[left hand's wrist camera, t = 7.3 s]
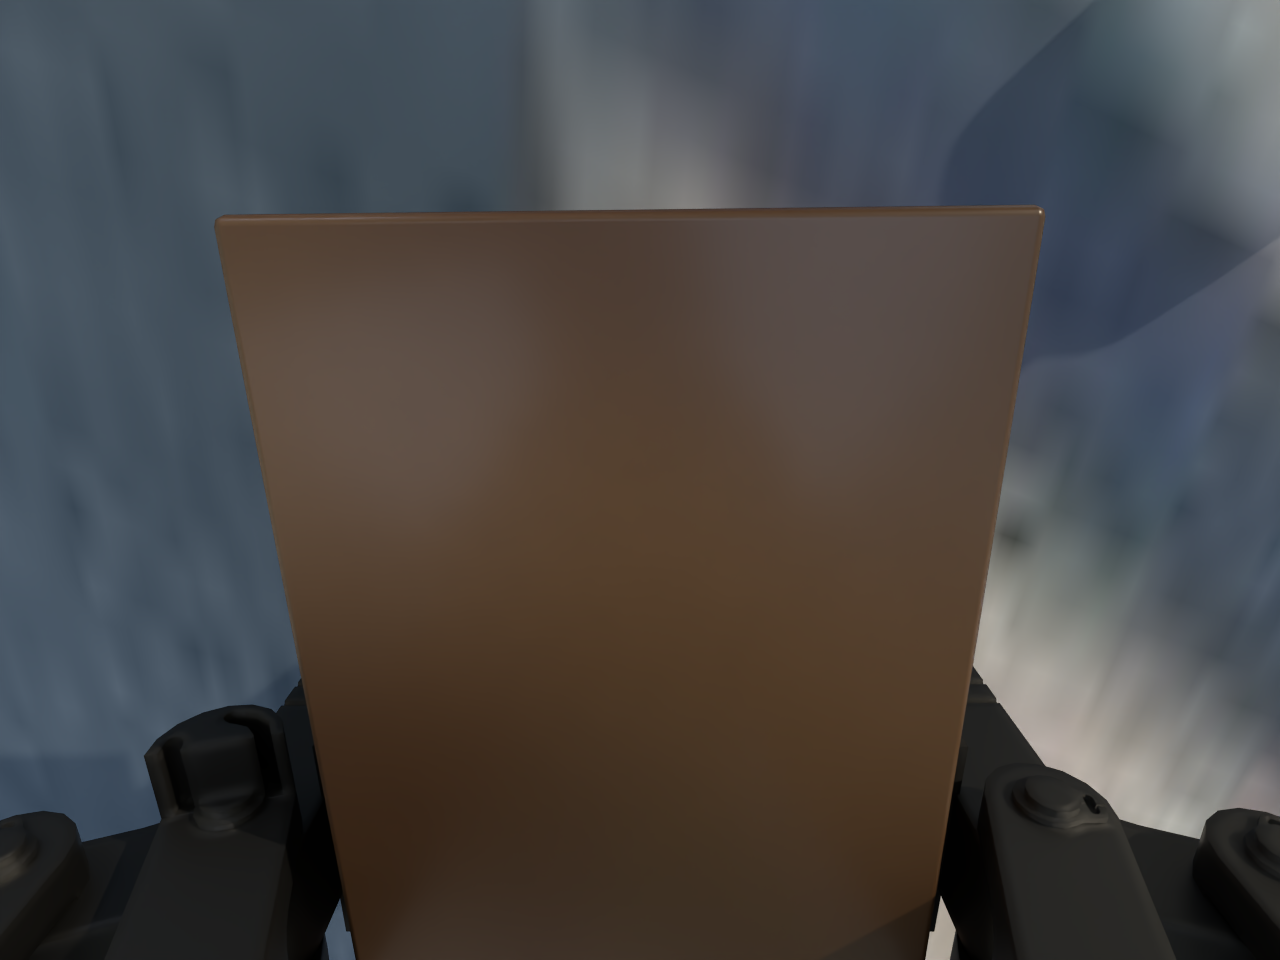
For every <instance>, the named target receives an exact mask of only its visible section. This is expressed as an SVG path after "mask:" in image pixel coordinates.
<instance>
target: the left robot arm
mask: <svg viewBox="0 0 1280 960" xmlns="http://www.w3.org/2000/svg"><path fill="white" fill-rule="evenodd" d="M144 758H145V762H146V765H147V769H148V772H149V776H150V780H151V783H152V787H153V790H154V794H155V797H156V801H157V804H158V808H159V811H160V815H161V822H160V823H158V824H155V825H152V826H148V827H145V828H141V829H137V830H133V831H128V832H124V833H120V834H116V835H111V836H107V837H103V838H98V839H94V840H90V841H85V842H81V839H80V836H79V833H78V830H77V827H76V824H75V823H74V822H73V821H72V820H71V819H70V818H68V817H67V816H66V815H65V814H62V813H54V812H47V811H40V812H33V813H27V814H21V815H15V816H12V817H9V818H7V819H4V820H1V821H0V960H329V955H328V948H327V942H326V937H325V932H326V929H327V927H328V925H329V922H330V920H331V918H332V915H333V913H334V911H335V909H336V906H337V904H338V902H339V899H340V900H341V905H342V911H343V916H344V921H345V927H346V931H350V927H349V922H348V917H347V911H346V906H345V901H344V896H343V891H342V886H341V880H340V875H339V870H338V865H337V860H336V855H335V849H334V844H333V839H332V834H331V829H330V823H329V818H328V813H327V808H326V803H325V798H324V792H323V787H322V782H321V777H320V772H319V767H318V761H317V756H316V751H315V746H314V741H313V735H312V730H311V725H310V720H309V715H308V710H307V704H306V699H305V694H304V689H303V684H302V678H301V679H300V681H299V682H298V687H295V688H294V689H293V690H292V692H291V693H290V694H289V696H288V697H287V699H286V700H285V705H284V706H281V707H280V708H279V710H278V711H277V712H276V713H275V712H274V711H273V710H272V709H269V708H265V707H260V706H256V705H237V706H227V707H223V708H219V709H215V710H211V711H207V712H203V713H201V714H199V715H197V716H194V717H192V718H190V719H188V720H186V721H184V722H181V723H179V724H177V725H176V726H175V727H173V728H172V729H170V730H169V731H168V732H166V733H165V734H163V735H162V736H161V737H159V738H158V739H157V740H156V741H155V742H154V744H153V745H152V746H151V747H150V749H149V750H148V751H147V753H146V754H145V755H144ZM940 897H942V899H943V901H944V904H945V906H946V908H947V910H948V913H949V915H950V917H951V920H952V922H953V924H954V926H955V929H956V932H955V937H954V942H953V947H952V952H951V957H950V960H1280V817H1279V816H1276V815H1273V814H1270V813H1267V812H1262V811H1255V810H1249V809H1243V808H1234V809H1227V810H1219V811H1217V812H1216V813H1215V814H1213V815H1212V816H1211V817H1210V818H1209V819H1207V820H1206V823H1205V826H1204V829H1203V832H1202V835H1201V838H1200V839H1196V838H1192V837H1187V836H1183V835H1179V834H1174V833H1170V832H1166V831H1161V830H1157V829H1153V828H1148V827H1144V826H1140V825H1136V824H1133V823H1130V822H1126V821H1123V820H1120V819H1119V818H1118V816H1117V815H1116V813H1115V812H1114V810H1113V809H1112V807H1111V806H1110V804H1109V803H1108V801H1107V800H1106V799H1105V798H1103V797H1102V796H1101V795H1100V794H1099V793H1097V792H1096V791H1095V790H1094V789H1093V788H1091V787H1090V786H1089V785H1088V784H1086V783H1084V782H1082V781H1081V780H1079V779H1077V778H1075V777H1073V776H1071V775H1069V774H1067V773H1065V772H1063V771H1060V770H1056V769H1053V768H1050V767H1046V766H1045V765H1044V764H1043V762H1042V761H1041V759H1040V758H1039V757H1038V755H1037V754H1036V753H1035V751H1034V750H1033V748H1032V747H1031V746H1030V744H1029V743H1028V741H1027V740H1026V739H1025V737H1024V736H1023V735H1022V733H1021V732H1020V730H1019V729H1018V728H1017V726H1016V725H1015V724H1014V722H1013V721H1012V719H1011V718H1010V717H1009V715H1008V714H1007V713H1006V711H1005V710H1004V708H1003V707H1002V706H1001V704H1000V703H997V702H996V697H995V696H994V695H993V693H992V692H991V690H990V689H989V688H988V686H987V685H986V684H983V679H982V678H981V677H980V675H979V674H978V673H977V671H976V670H975V668H974V667H972V673H971V679H970V685H969V691H968V698H967V704H966V710H965V716H964V722H963V729H962V735H961V741H960V747H959V753H958V759H957V766H956V772H955V778H954V784H953V790H952V797H951V803H950V809H949V815H948V821H947V827H946V834H945V840H944V846H943V852H942V858H941V865H940V871H939V877H938V883H937V889H936V895H935V902H934V908H933V914H932V920H931V926H930V931H934V930H935V924H936V919H937V914H938V908H939V903H940Z"/></svg>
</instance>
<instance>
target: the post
mask: <svg viewBox="0 0 1280 960" xmlns="http://www.w3.org/2000/svg"><path fill="white" fill-rule="evenodd" d="M1044 222H1045V212H1044V209H1043V208H1041V207H1039V206H1036V205H981V206H900V207H819V208H738V209H657V210H576V211H495V212H414V213H333V214H252V215H223V216H221V217H219V218H217V219H216V220H215V226H214V228H215V233H216V238H217V244H218V249H219V254H220V259H221V264H222V269H223V275H224V280H225V285H226V290H227V295H228V301H229V306H230V311H231V316H232V321H233V326H234V332H235V337H236V342H237V347H238V352H239V357H240V363H241V368H242V373H243V378H244V383H245V389H246V394H247V399H248V404H249V409H250V414H251V420H252V425H253V430H254V435H255V440H256V446H257V451H258V456H259V461H260V466H261V471H262V477H263V482H264V487H265V492H266V497H267V502H268V508H269V513H270V518H271V523H272V528H273V534H274V539H275V544H276V549H277V554H278V559H279V565H280V570H281V575H282V580H283V585H284V590H285V596H286V601H287V606H288V611H289V616H290V622H291V627H292V632H293V637H294V642H295V647H296V653H297V658H298V663H299V668H300V673H301V678H302V684H303V689H304V694H305V699H306V704H307V710H308V715H309V720H310V725H311V730H312V735H313V741H314V746H315V751H316V756H317V761H318V767H319V772H320V777H321V782H322V787H323V792H324V798H325V803H326V808H327V813H328V818H329V823H330V829H331V834H332V839H333V844H334V849H335V855H336V860H337V865H338V870H339V875H340V880H341V886H342V891H343V896H344V901H345V906H346V911H347V917H348V922H349V927H350V932H351V937H352V943H353V948H354V953H355V958H356V960H925V957H926V951H927V945H928V939H929V933H930V926H931V920H932V914H933V908H934V902H935V895H936V889H937V883H938V877H939V871H940V865H941V858H942V852H943V846H944V840H945V834H946V827H947V821H948V815H949V809H950V803H951V797H952V790H953V784H954V778H955V772H956V766H957V759H958V753H959V747H960V741H961V735H962V729H963V722H964V716H965V710H966V704H967V698H968V691H969V685H970V679H971V673H972V667H973V661H974V654H975V648H976V642H977V636H978V630H979V623H980V617H981V611H982V605H983V599H984V593H985V586H986V580H987V574H988V568H989V562H990V555H991V549H992V543H993V537H994V531H995V525H996V518H997V512H998V506H999V500H1000V494H1001V487H1002V481H1003V475H1004V469H1005V463H1006V457H1007V450H1008V444H1009V438H1010V432H1011V426H1012V419H1013V413H1014V407H1015V401H1016V395H1017V388H1018V382H1019V376H1020V370H1021V364H1022V358H1023V351H1024V345H1025V339H1026V333H1027V327H1028V320H1029V314H1030V308H1031V302H1032V296H1033V290H1034V283H1035V277H1036V271H1037V265H1038V259H1039V252H1040V246H1041V240H1042V234H1043V228H1044Z"/></svg>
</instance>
